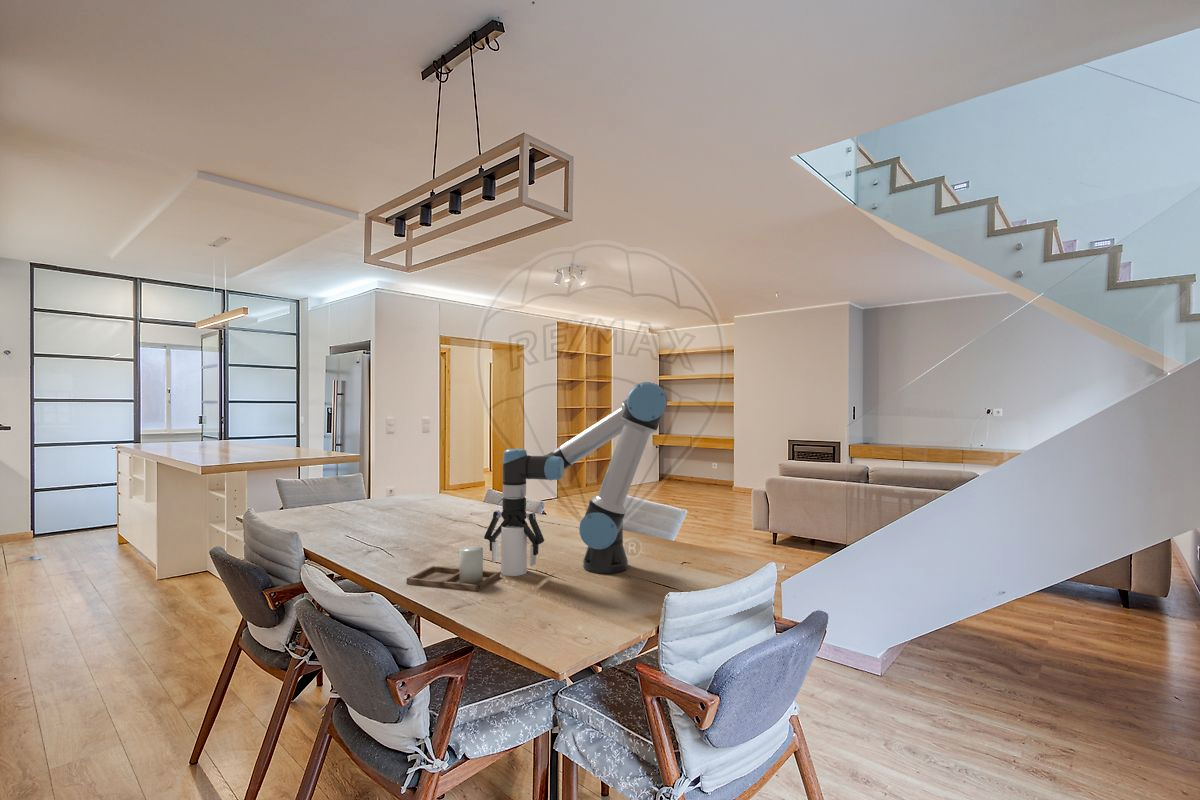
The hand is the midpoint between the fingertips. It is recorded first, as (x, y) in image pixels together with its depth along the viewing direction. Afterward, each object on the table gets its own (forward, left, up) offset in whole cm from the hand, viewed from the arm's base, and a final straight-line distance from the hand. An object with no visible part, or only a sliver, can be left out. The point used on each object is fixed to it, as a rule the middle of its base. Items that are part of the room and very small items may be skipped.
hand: (513, 563), depth 182 cm
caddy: (+14, +13, -4) cm, 19 cm away
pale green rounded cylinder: (+8, +13, -3) cm, 16 cm away
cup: (0, 0, -4) cm, 4 cm away
